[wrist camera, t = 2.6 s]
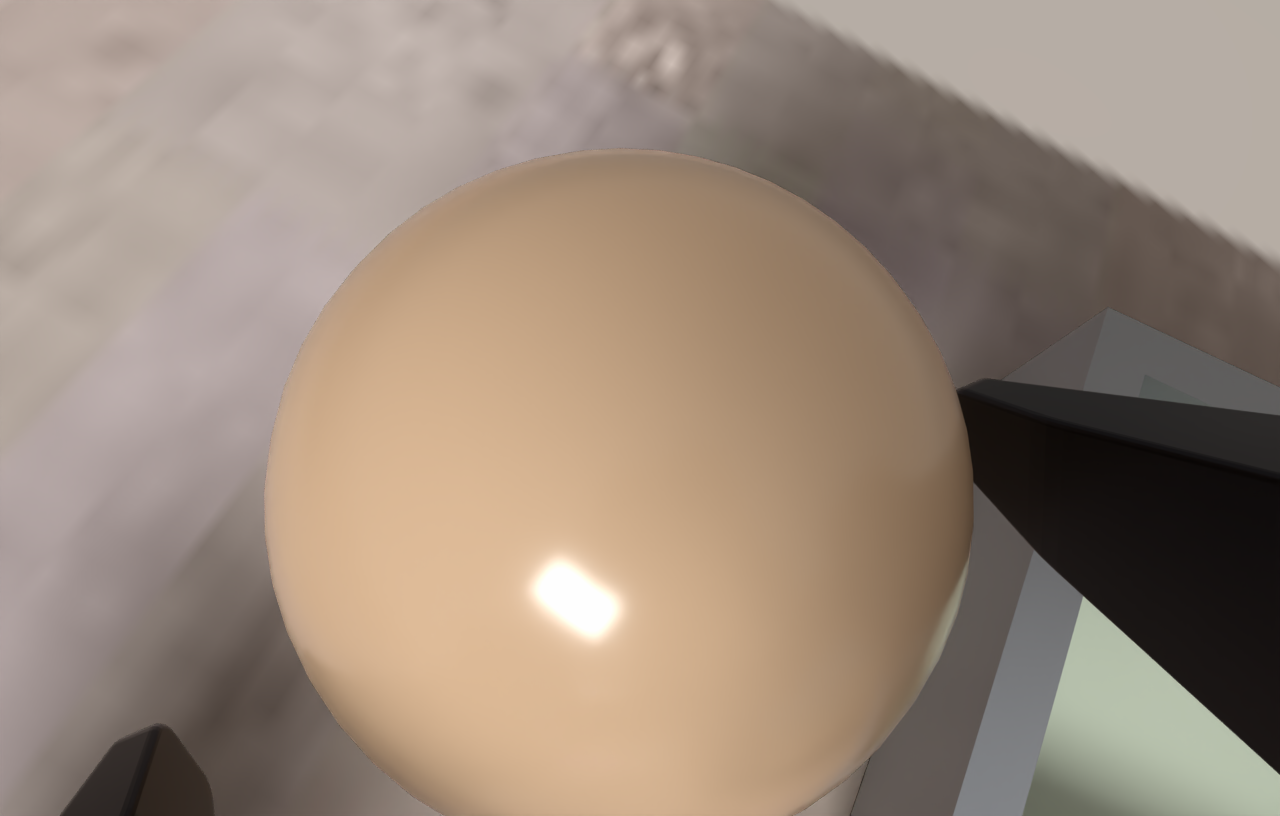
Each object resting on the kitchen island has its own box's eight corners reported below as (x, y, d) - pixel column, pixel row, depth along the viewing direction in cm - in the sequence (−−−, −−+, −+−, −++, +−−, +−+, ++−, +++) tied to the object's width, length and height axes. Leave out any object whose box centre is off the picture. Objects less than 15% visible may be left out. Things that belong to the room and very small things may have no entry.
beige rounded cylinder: (634, 802, 16) (988, 1214, 3) (390, 678, 16) (-151, 621, 4) (741, 554, 18) (1244, 203, 5) (518, 445, 18) (464, -154, 5)
